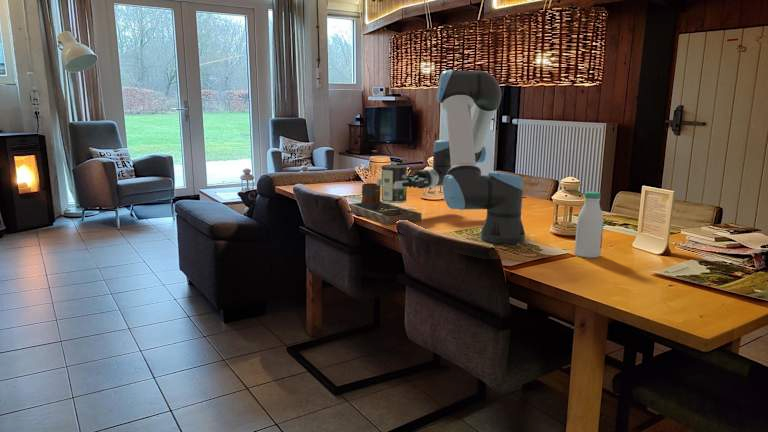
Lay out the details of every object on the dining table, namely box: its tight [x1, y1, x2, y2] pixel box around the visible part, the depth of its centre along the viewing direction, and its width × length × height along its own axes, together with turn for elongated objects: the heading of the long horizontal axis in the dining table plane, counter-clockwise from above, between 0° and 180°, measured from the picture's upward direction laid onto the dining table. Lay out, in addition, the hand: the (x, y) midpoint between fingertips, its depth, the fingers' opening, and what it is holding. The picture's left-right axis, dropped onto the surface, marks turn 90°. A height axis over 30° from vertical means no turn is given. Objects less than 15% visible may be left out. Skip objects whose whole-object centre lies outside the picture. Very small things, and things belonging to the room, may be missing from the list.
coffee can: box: [380, 164, 408, 204], centre depth 222 cm, size 10×10×14 cm
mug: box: [360, 182, 382, 211], centre depth 237 cm, size 9×12×12 cm
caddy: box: [348, 200, 422, 226], centre depth 231 cm, size 32×16×3 cm, turn 32°
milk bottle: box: [574, 190, 604, 259], centre depth 173 cm, size 8×8×20 cm
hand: (386, 183), depth 219 cm, fingers closed on coffee can, 10 cm apart
